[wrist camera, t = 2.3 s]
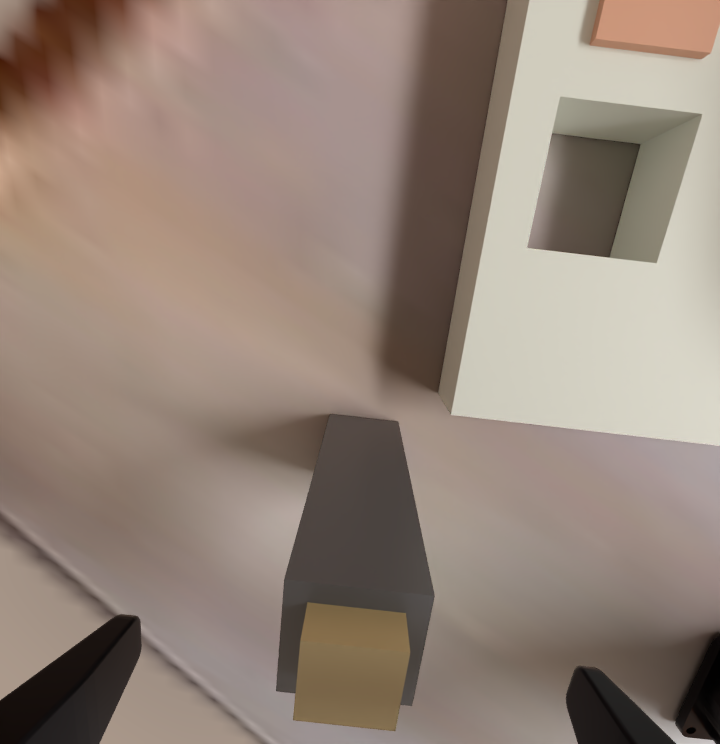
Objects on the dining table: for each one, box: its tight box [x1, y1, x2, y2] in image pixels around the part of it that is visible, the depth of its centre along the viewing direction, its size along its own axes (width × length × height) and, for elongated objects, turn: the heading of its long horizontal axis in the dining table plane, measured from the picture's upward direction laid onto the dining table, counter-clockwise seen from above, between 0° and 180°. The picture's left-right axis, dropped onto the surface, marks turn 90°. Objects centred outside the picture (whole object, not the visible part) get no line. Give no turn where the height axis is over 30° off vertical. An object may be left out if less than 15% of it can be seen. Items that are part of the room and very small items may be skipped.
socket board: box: [438, 0, 720, 446], centre depth 12 cm, size 16×14×3 cm
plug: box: [276, 414, 434, 731], centre depth 12 cm, size 3×3×10 cm
